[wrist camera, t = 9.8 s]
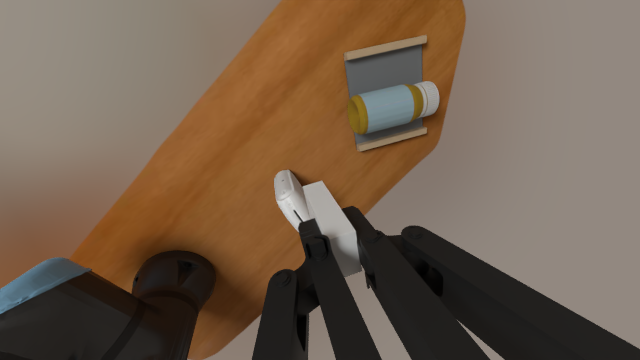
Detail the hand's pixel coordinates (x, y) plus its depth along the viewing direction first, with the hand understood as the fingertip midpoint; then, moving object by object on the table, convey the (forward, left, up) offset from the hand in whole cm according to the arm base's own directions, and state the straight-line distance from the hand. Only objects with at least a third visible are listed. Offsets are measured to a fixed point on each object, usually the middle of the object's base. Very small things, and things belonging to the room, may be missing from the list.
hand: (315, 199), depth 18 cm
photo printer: (-1, -13, -30) cm, 32 cm away
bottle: (+12, 0, -25) cm, 28 cm away
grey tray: (+21, +1, -29) cm, 36 cm away
